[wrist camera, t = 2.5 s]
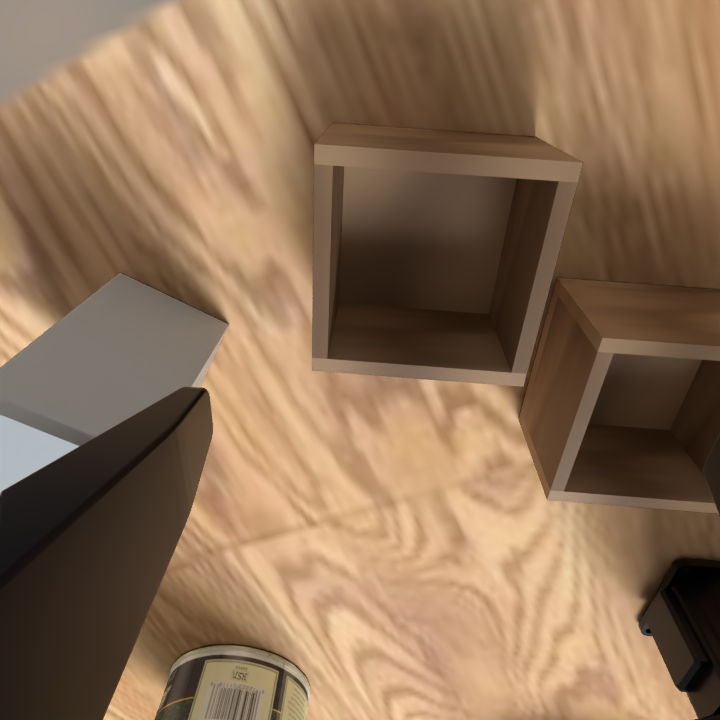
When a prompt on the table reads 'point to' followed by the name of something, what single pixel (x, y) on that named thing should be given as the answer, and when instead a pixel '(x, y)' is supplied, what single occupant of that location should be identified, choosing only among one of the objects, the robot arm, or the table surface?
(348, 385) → the table surface
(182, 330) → the pale grey square pillar
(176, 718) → the coffee can
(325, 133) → the box
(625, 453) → the box
